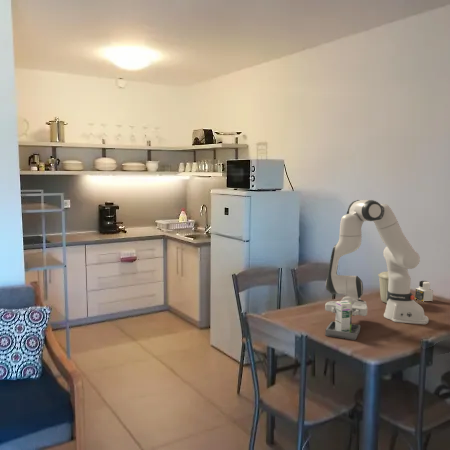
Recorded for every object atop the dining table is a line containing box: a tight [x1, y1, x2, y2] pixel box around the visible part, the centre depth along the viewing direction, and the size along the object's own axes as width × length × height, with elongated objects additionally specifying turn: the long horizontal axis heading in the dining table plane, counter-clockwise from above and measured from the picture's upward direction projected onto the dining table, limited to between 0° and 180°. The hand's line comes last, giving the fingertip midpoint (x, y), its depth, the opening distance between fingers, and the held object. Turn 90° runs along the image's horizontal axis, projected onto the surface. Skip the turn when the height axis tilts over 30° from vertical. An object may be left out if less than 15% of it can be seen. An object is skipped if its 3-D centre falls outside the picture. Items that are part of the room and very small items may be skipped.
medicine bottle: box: [414, 280, 434, 303], centre depth 285 cm, size 7×7×12 cm
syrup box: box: [334, 300, 353, 333], centre depth 223 cm, size 6×6×14 cm
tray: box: [324, 320, 361, 341], centre depth 224 cm, size 14×14×3 cm
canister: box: [377, 270, 389, 304], centre depth 279 cm, size 18×18×21 cm
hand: (343, 312), depth 223 cm, fingers open, 8 cm apart
